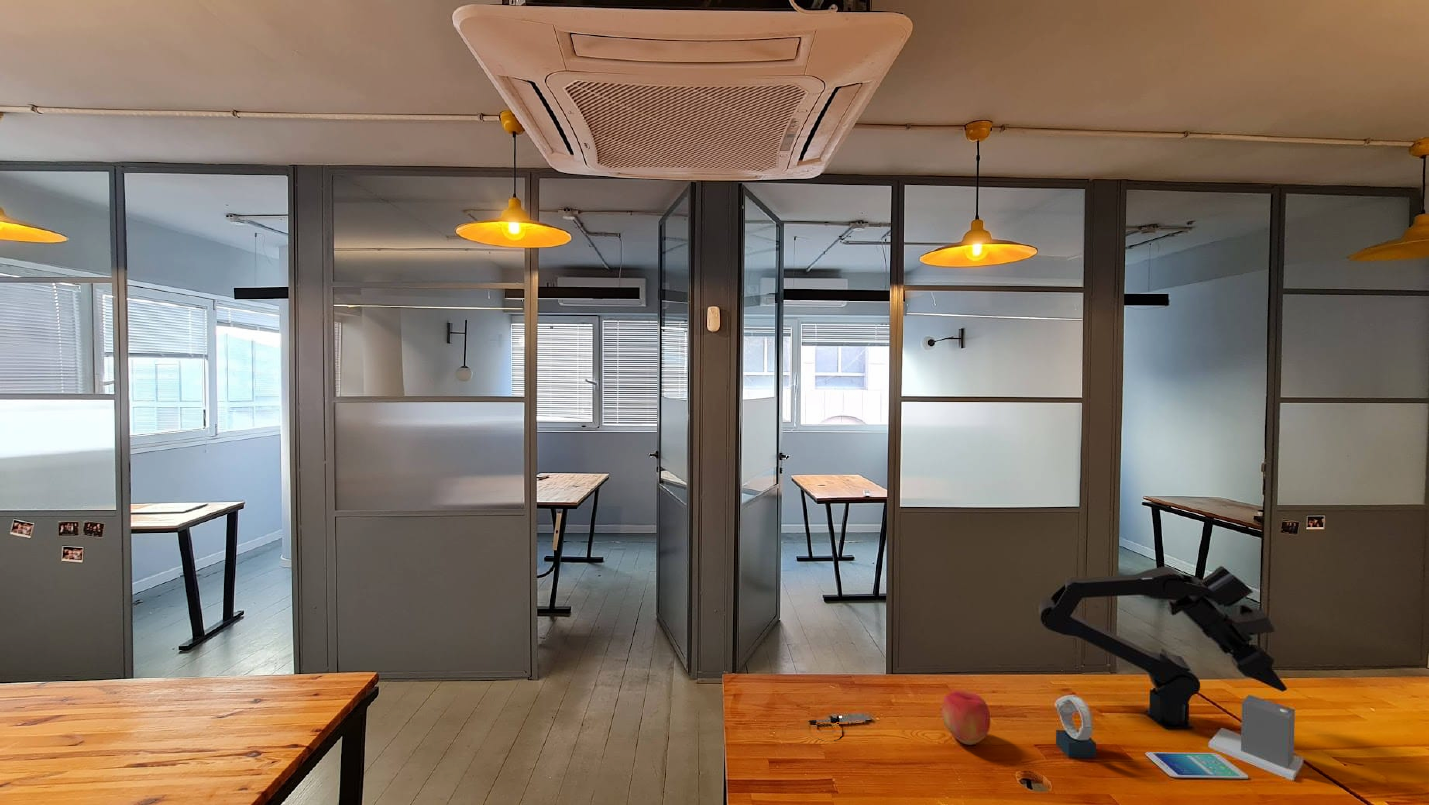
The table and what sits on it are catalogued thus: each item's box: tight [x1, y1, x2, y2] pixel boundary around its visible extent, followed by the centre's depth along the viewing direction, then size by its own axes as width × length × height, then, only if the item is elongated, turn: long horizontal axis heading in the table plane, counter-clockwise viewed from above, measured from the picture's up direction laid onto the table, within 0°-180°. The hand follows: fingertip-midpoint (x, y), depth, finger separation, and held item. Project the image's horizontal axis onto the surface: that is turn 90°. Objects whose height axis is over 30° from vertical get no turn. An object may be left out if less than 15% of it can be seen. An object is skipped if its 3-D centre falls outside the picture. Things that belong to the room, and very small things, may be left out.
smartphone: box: [1145, 751, 1249, 781], centre depth 112 cm, size 8×1×15 cm
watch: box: [1054, 694, 1097, 759], centre depth 117 cm, size 6×8×11 cm
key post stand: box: [1208, 727, 1304, 781], centre depth 116 cm, size 12×9×5 cm
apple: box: [941, 689, 991, 746], centre depth 121 cm, size 10×10×10 cm
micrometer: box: [808, 712, 873, 726], centre depth 124 cm, size 15×7×2 cm, turn 98°
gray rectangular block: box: [1240, 694, 1296, 769], centre depth 114 cm, size 7×5×10 cm
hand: (1274, 679), depth 119 cm, fingers open, 9 cm apart
